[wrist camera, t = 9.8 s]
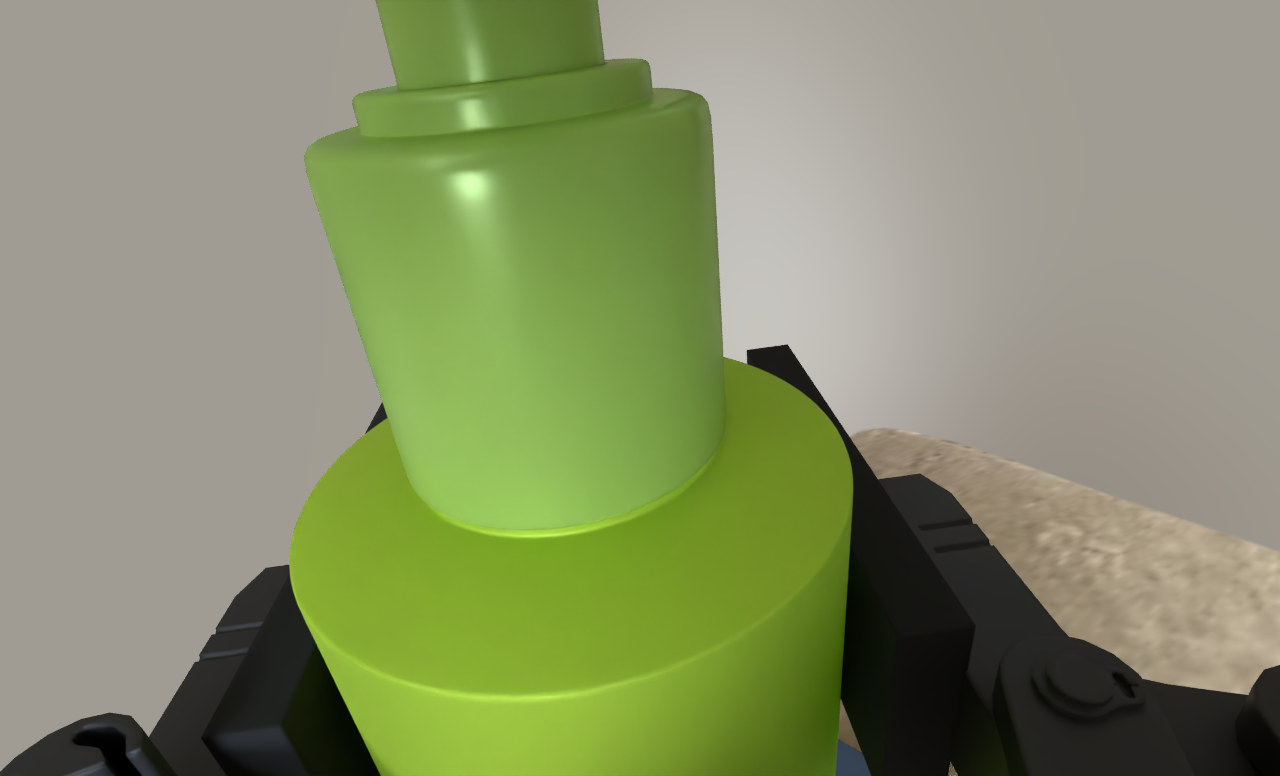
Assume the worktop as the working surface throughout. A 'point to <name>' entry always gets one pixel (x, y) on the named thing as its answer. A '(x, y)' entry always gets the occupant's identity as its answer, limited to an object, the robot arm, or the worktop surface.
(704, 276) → the soap dispenser
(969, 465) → the worktop surface
